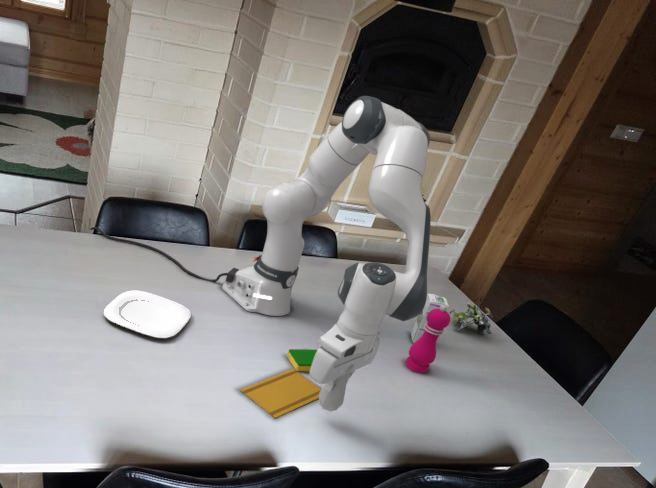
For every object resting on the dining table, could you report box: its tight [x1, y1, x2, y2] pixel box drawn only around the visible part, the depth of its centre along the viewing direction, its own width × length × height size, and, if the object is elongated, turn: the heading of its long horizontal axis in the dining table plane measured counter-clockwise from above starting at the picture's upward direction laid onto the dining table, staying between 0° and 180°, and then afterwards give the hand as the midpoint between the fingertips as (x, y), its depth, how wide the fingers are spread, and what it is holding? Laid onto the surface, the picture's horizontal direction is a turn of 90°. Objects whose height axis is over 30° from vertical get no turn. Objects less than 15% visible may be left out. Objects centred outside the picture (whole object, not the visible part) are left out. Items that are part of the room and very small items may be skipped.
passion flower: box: [449, 301, 493, 336], centre depth 205 cm, size 11×11×12 cm
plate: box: [103, 289, 192, 340], centre depth 178 cm, size 22×22×2 cm
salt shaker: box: [318, 365, 354, 412], centre depth 147 cm, size 6×6×13 cm
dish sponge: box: [286, 348, 318, 372], centre depth 173 cm, size 7×14×2 cm, turn 104°
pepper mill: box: [405, 305, 451, 374], centre depth 177 cm, size 7×7×20 cm
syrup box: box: [410, 292, 450, 344], centre depth 192 cm, size 6×6×14 cm
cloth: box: [239, 368, 322, 419], centre depth 160 cm, size 12×20×1 cm, turn 130°
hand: (335, 386), depth 148 cm, fingers closed on salt shaker, 3 cm apart
